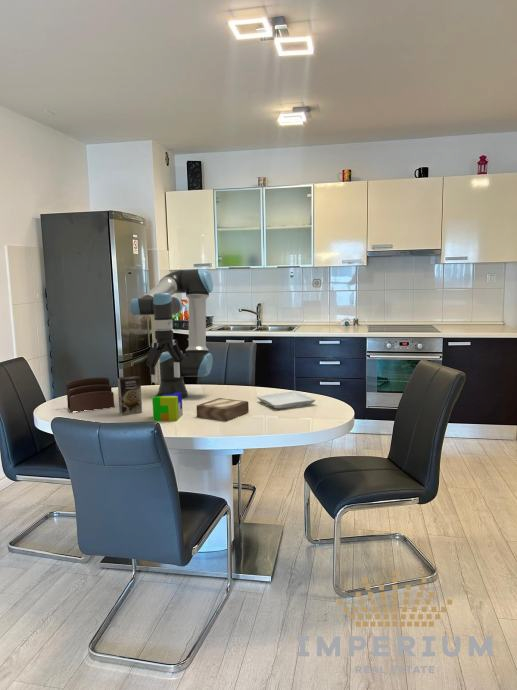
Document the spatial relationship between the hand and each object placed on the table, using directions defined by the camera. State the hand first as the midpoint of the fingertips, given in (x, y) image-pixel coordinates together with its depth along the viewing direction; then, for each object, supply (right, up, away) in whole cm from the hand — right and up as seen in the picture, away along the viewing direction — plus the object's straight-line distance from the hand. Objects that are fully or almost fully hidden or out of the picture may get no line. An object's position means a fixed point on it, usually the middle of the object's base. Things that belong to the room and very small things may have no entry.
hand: (166, 379), depth 216 cm
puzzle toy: (+1, -17, +2) cm, 17 cm away
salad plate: (+52, -13, +22) cm, 58 cm away
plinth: (+24, -15, +5) cm, 29 cm away
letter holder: (-40, -16, +24) cm, 49 cm away
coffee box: (-18, -16, +13) cm, 28 cm away
